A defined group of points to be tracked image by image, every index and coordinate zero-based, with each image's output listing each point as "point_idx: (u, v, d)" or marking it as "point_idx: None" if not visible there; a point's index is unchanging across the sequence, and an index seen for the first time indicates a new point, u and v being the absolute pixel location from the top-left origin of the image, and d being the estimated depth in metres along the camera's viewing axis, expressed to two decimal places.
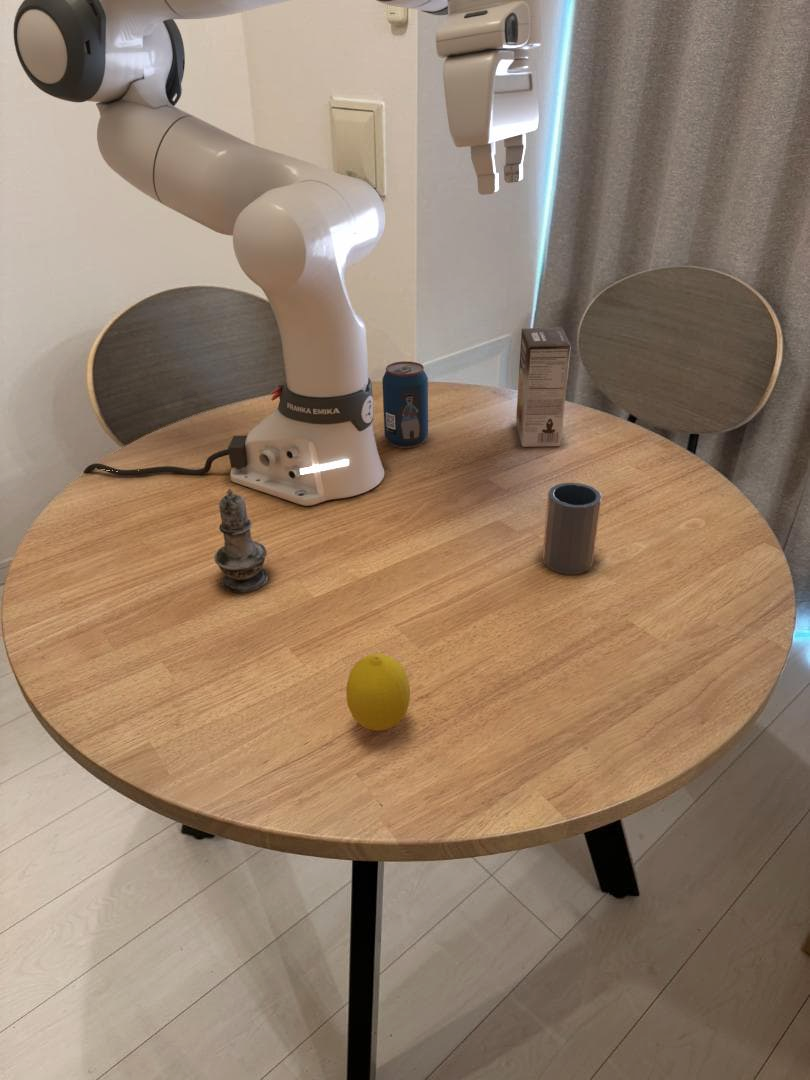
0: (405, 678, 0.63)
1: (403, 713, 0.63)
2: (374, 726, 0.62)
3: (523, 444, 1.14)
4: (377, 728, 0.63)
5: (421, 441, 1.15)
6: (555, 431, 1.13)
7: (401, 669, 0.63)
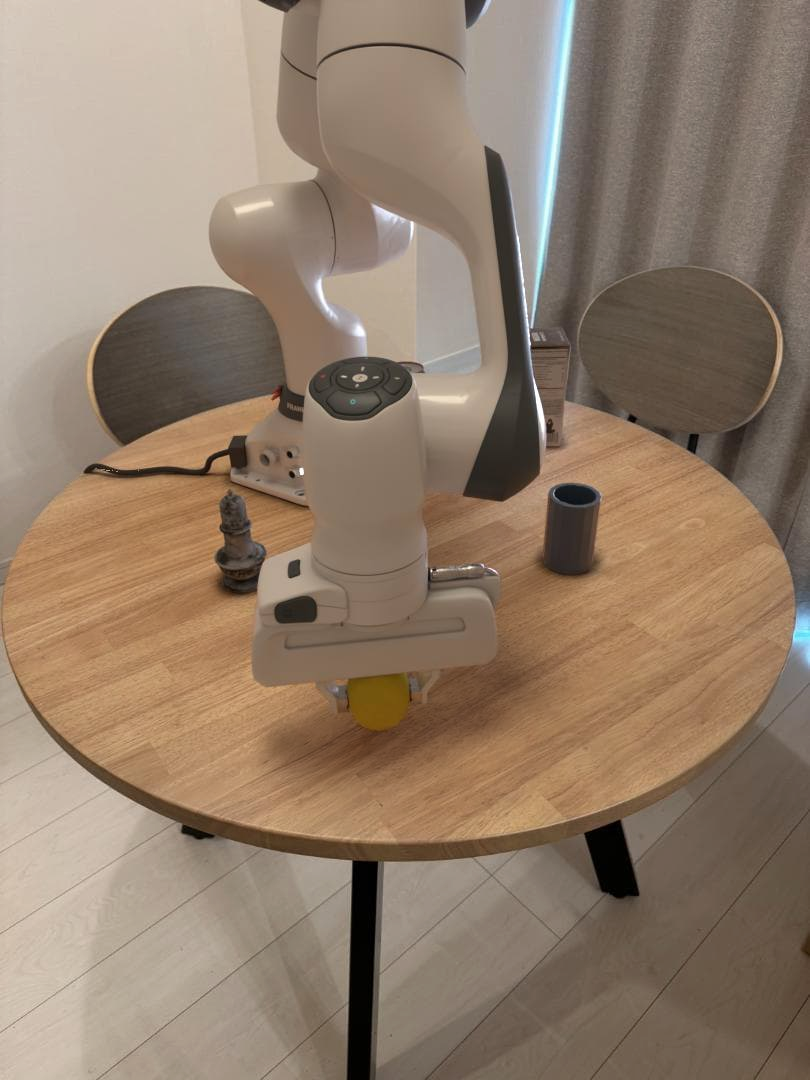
0: (405, 678, 0.63)
1: (403, 713, 0.63)
2: (375, 726, 0.62)
3: None
4: (377, 728, 0.63)
5: None
6: (555, 431, 1.13)
7: None
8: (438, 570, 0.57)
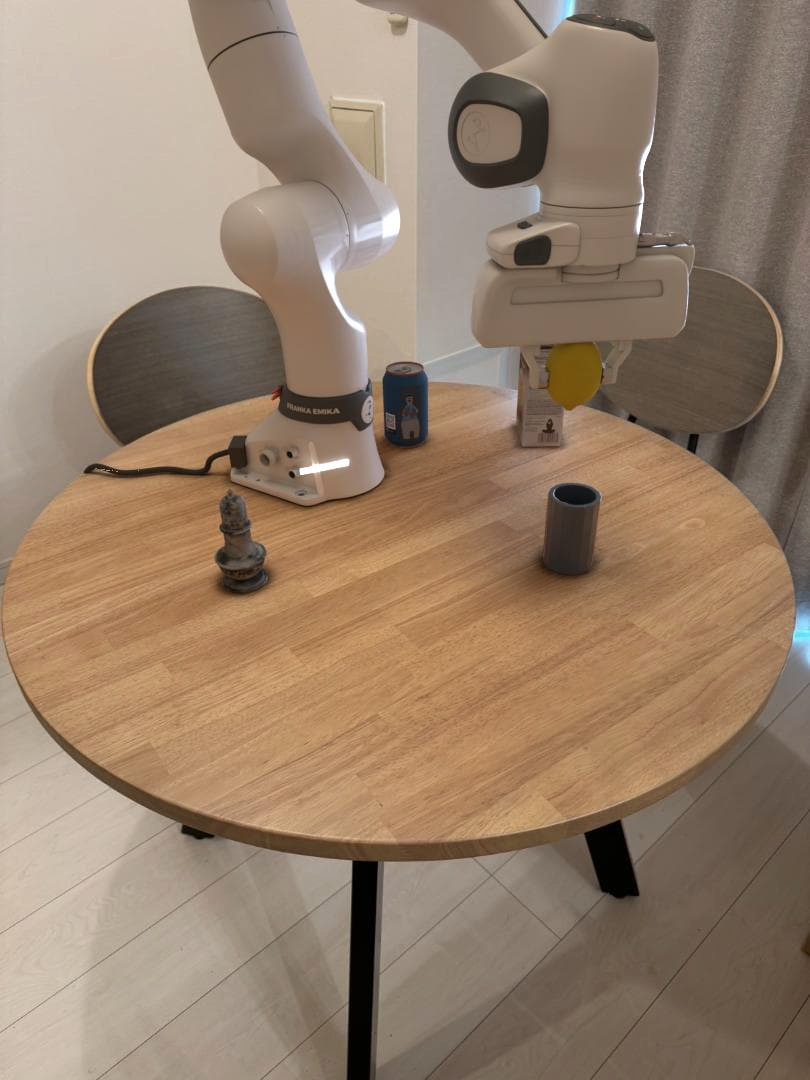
0: (600, 354, 0.71)
1: (597, 387, 0.72)
2: (573, 395, 0.71)
3: (523, 444, 1.14)
4: (575, 398, 0.71)
5: (421, 441, 1.15)
6: (555, 431, 1.13)
7: None
8: (644, 235, 0.66)
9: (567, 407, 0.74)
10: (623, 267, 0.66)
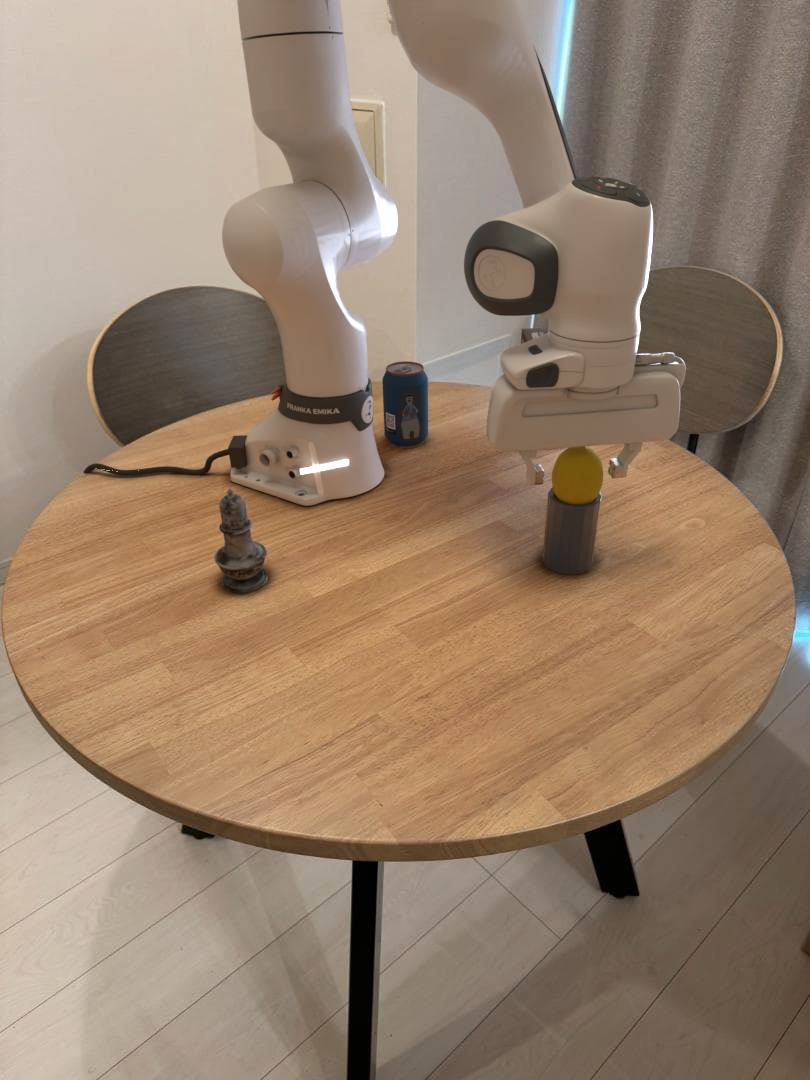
0: (601, 463, 0.80)
1: (599, 491, 0.81)
2: (578, 500, 0.80)
3: None
4: (579, 502, 0.80)
5: (421, 441, 1.15)
6: None
7: (598, 456, 0.80)
8: (641, 355, 0.75)
9: None
10: (622, 384, 0.74)
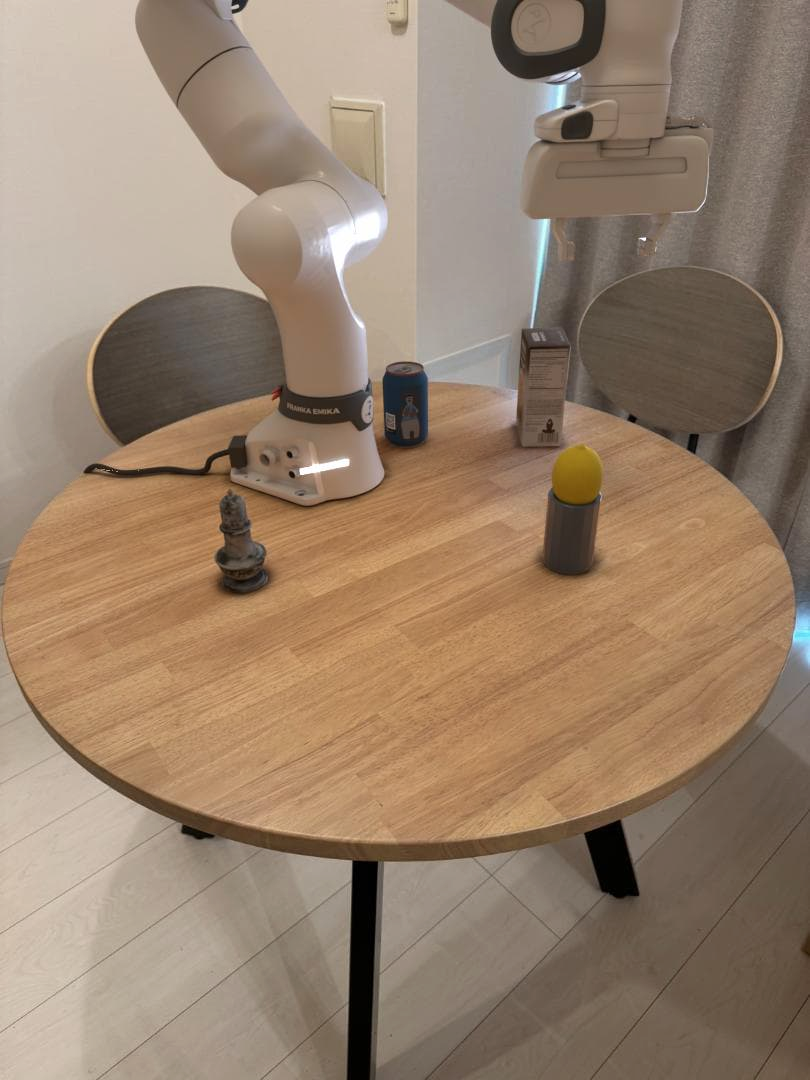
0: (601, 463, 0.80)
1: (599, 491, 0.81)
2: (578, 500, 0.80)
3: (523, 444, 1.14)
4: (579, 502, 0.80)
5: (421, 441, 1.15)
6: (555, 431, 1.13)
7: (598, 456, 0.80)
8: (671, 117, 0.77)
9: None
10: (653, 144, 0.77)
